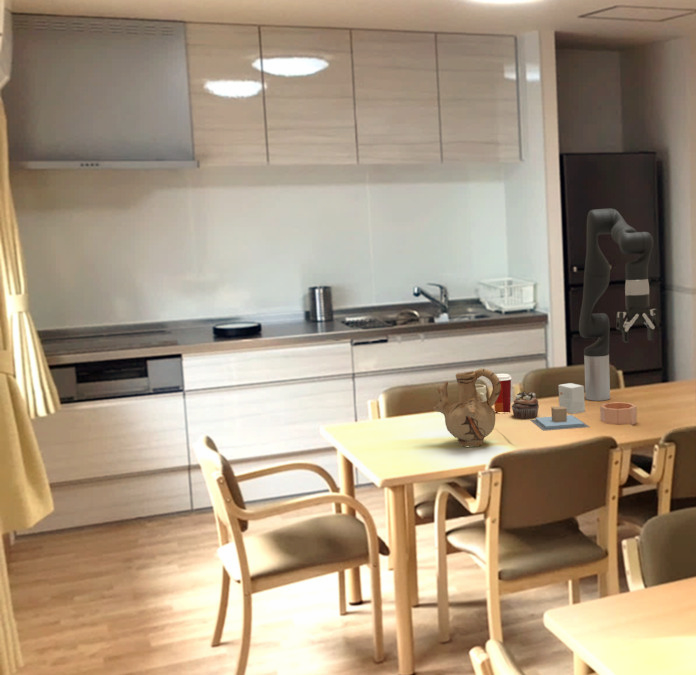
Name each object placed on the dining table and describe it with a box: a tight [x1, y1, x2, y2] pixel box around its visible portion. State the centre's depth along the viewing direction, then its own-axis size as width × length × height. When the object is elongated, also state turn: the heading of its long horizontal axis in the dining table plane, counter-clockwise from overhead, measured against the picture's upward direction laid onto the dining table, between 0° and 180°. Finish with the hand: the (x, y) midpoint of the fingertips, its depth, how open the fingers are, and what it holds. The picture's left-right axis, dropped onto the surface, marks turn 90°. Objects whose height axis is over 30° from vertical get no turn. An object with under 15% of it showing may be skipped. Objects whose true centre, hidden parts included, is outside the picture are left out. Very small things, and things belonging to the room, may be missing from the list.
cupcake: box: [511, 391, 540, 420], centre depth 307 cm, size 10×10×10 cm
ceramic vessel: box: [432, 368, 501, 448], centre depth 276 cm, size 18×19×25 cm
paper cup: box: [491, 373, 513, 413], centre depth 320 cm, size 8×8×14 cm
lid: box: [534, 405, 585, 429], centre depth 293 cm, size 13×13×6 cm
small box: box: [558, 382, 586, 415], centre depth 311 cm, size 8×6×10 cm
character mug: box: [475, 383, 488, 402], centre depth 308 cm, size 11×7×13 cm, turn 18°
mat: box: [529, 416, 590, 432], centre depth 294 cm, size 16×16×1 cm
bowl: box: [599, 401, 638, 426], centre depth 293 cm, size 11×11×6 cm
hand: (638, 341), depth 285 cm, fingers open, 8 cm apart
